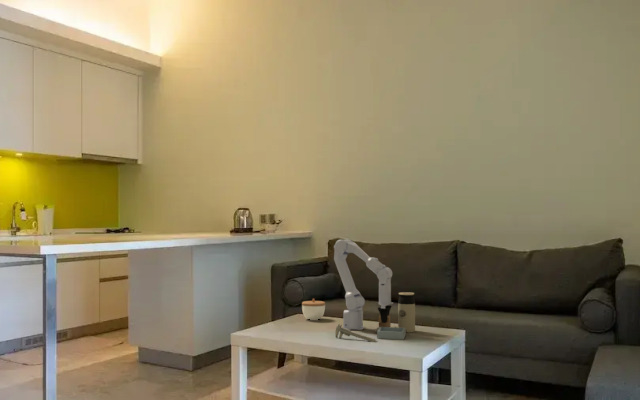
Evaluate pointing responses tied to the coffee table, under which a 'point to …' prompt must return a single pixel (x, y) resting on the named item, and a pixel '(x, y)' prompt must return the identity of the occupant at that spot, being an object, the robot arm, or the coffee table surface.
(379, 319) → the block
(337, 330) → the caliper
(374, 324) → the coffee table surface
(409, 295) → the travel mug
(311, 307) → the lidded bowl
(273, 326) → the coffee table surface
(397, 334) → the tray
